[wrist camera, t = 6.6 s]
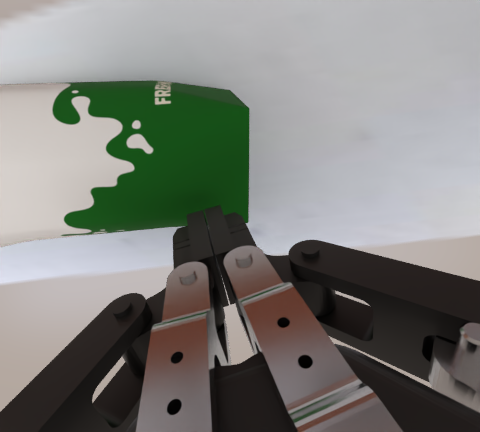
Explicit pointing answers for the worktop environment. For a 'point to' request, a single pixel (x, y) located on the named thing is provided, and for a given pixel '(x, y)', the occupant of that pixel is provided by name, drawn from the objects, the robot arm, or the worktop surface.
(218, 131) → the soya milk
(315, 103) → the worktop surface
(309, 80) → the worktop surface
